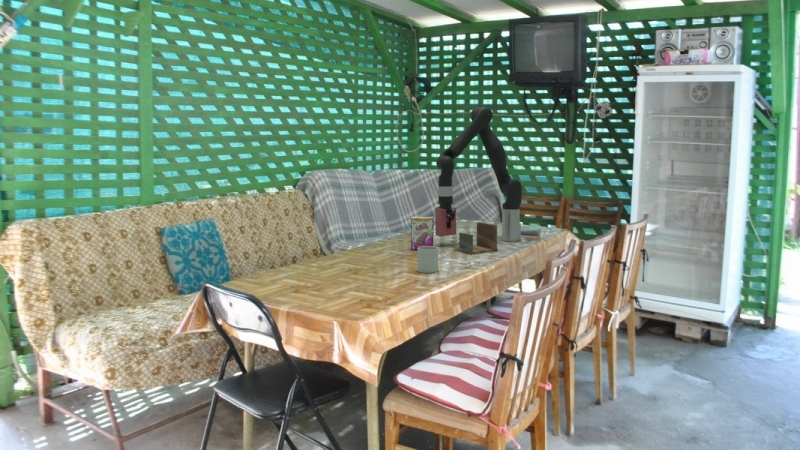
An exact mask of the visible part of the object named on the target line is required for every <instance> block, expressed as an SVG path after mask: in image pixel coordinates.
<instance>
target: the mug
mask: <svg viewBox="0 0 800 450" xmlns="http://www.w3.org/2000/svg"><path fill="white" fill-rule="evenodd" d="M416 251H417V272H419V273H424V274H430V273H431V274H432V273H437V272H439V247H437V246H422V247H418V248H417V250H416Z"/></svg>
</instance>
